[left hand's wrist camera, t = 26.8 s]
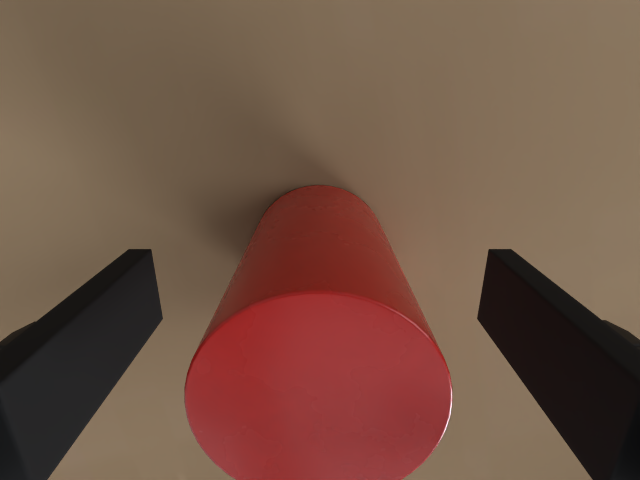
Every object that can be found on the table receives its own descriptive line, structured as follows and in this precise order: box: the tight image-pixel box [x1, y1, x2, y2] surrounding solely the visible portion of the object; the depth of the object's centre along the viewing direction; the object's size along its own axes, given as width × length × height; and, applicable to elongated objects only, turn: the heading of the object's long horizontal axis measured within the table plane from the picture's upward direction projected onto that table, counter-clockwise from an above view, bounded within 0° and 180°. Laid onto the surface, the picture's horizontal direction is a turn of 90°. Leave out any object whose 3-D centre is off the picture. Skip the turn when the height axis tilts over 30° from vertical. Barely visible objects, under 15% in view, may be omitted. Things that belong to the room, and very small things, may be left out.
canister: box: [185, 185, 452, 480], centre depth 12 cm, size 6×6×9 cm
